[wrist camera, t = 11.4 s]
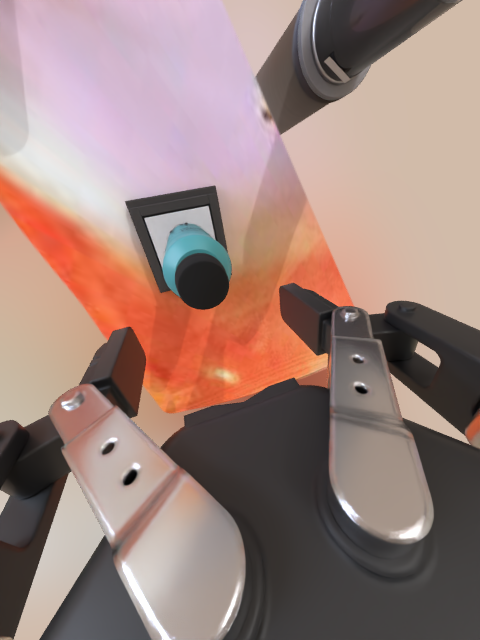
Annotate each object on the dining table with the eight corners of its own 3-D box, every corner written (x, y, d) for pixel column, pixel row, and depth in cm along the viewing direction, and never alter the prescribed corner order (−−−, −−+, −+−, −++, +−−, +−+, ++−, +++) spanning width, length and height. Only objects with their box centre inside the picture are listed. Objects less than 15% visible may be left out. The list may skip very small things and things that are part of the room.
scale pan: (145, 217, 30) (144, 218, 29) (207, 206, 32) (208, 206, 30) (166, 277, 35) (166, 280, 34) (219, 265, 36) (221, 267, 35)
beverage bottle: (212, 262, 34) (251, 317, 17) (171, 268, 33) (170, 334, 16) (206, 218, 31) (246, 234, 14) (160, 223, 30) (144, 247, 13)
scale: (126, 201, 30) (122, 201, 27) (213, 186, 32) (217, 184, 30) (160, 290, 37) (160, 296, 35) (230, 272, 39) (234, 277, 37)
